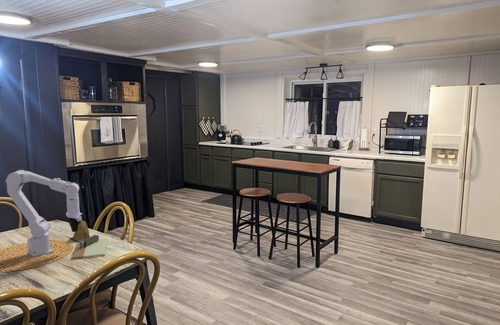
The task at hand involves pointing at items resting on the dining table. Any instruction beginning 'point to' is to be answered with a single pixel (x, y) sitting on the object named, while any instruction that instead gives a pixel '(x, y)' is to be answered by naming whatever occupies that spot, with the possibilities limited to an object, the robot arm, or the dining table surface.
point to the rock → (82, 231)
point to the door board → (90, 249)
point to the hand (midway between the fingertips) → (74, 231)
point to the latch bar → (91, 240)
